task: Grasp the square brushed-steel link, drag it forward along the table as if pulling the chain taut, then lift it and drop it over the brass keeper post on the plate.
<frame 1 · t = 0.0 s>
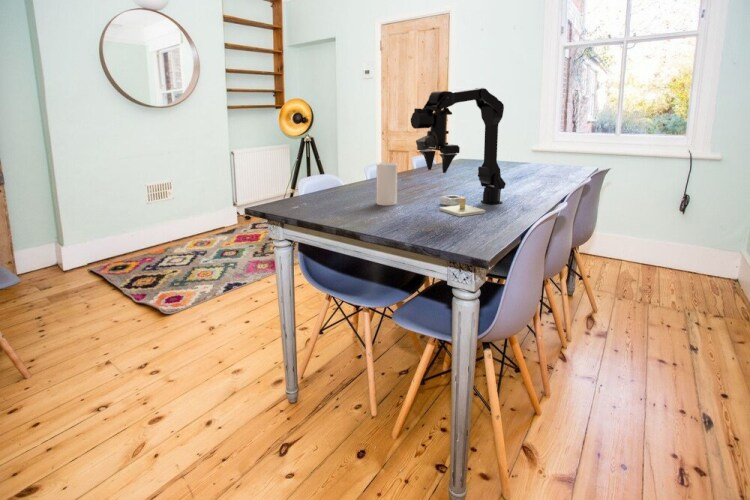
hand: (436, 171, 170), 15 cm above the table, fingers open, 9 cm apart
link: (452, 204, 184), on the table
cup: (386, 203, 186), on the table
keeper: (462, 211, 172), on the table
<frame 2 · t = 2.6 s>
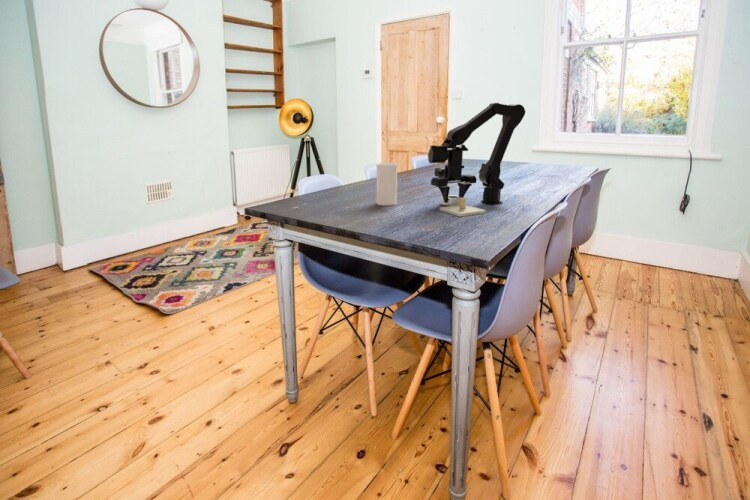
hand: (452, 201, 184), 1 cm above the table, fingers closed on link, 7 cm apart
link: (452, 204, 184), on the table, touching gripper
everything else where it was.
when the fingers open (4 cm above the table, at t = 8.6 s): link drops 2 cm, resting on keeper.
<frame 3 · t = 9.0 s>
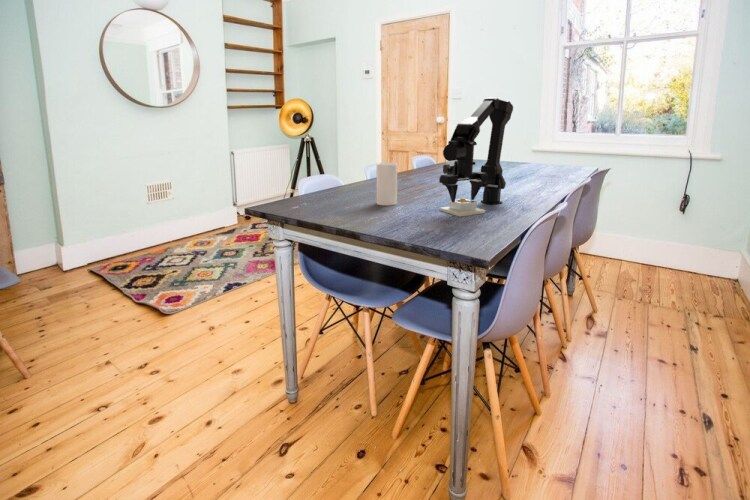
hand: (462, 201, 170), 4 cm above the table, fingers open, 9 cm apart
link: (462, 208, 171), point 1 cm above the table, touching keeper
everything else where it was.
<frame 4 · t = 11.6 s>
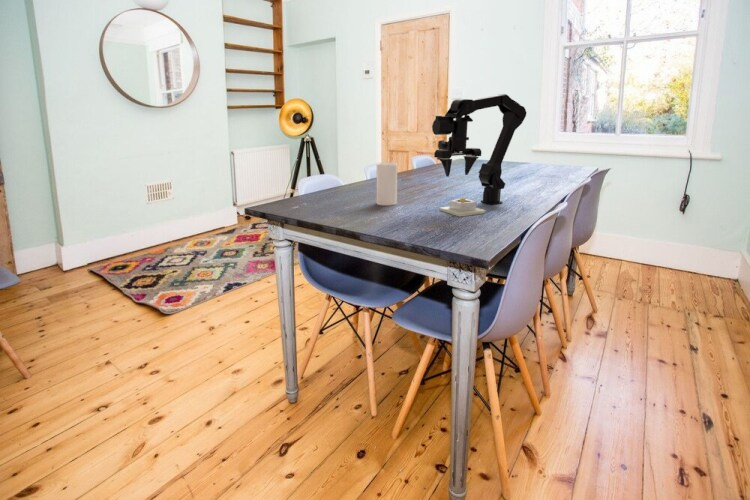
hand: (457, 175, 177), 12 cm above the table, fingers open, 9 cm apart
nothing on the table moved.
at the end: link 0.1 cm off-centre on the keeper, point 1.0 cm above the keeper's base; the gripper is holding nothing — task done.
